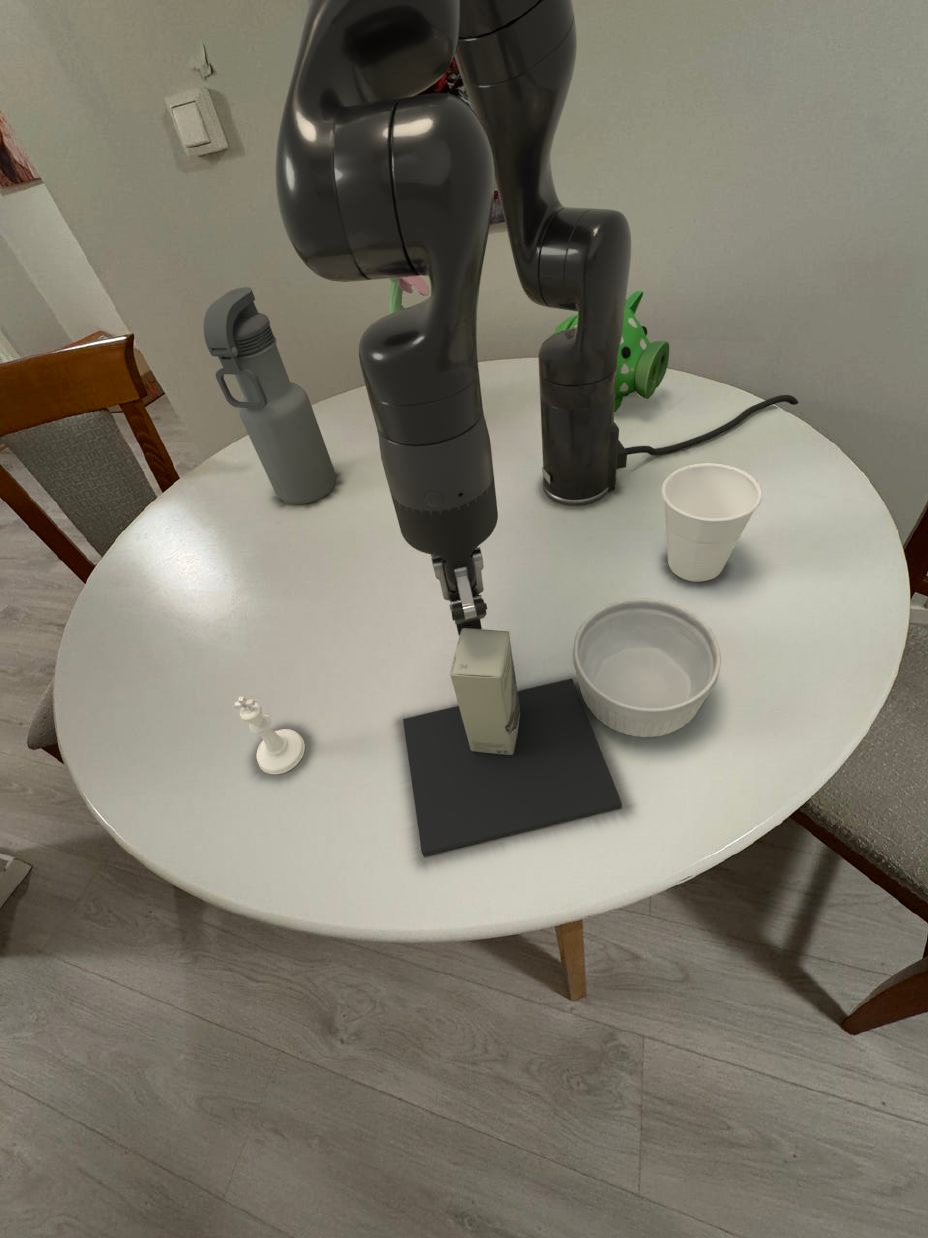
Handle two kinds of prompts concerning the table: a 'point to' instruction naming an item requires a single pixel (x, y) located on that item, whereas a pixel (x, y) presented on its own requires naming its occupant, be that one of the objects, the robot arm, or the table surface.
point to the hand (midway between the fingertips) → (469, 629)
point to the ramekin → (645, 665)
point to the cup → (706, 516)
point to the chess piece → (271, 740)
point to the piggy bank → (634, 355)
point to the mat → (507, 772)
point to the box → (486, 690)
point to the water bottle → (268, 399)
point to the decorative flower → (404, 285)
